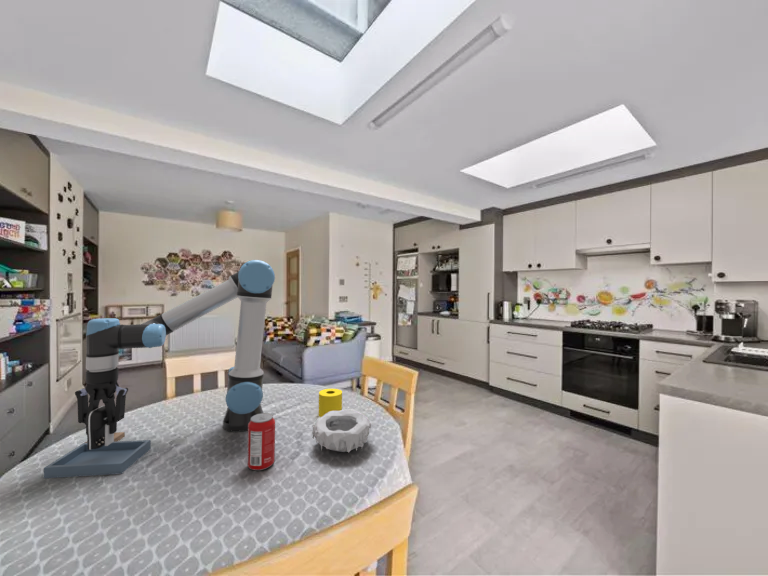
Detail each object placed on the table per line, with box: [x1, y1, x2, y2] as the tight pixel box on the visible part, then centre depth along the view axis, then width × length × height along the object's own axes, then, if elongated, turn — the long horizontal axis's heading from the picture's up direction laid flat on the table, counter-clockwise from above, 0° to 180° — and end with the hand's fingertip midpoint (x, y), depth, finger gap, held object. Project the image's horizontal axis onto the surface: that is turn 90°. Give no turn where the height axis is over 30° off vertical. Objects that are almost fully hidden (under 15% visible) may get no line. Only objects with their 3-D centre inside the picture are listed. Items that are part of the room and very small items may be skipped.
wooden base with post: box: [84, 431, 126, 443], centre depth 109 cm, size 8×8×9 cm
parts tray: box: [43, 439, 152, 479], centre depth 97 cm, size 20×14×3 cm
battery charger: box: [86, 405, 108, 450], centre depth 97 cm, size 7×4×11 cm, turn 8°
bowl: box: [311, 408, 372, 454], centre depth 109 cm, size 21×20×10 cm
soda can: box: [247, 412, 276, 471], centre depth 97 cm, size 8×8×15 cm
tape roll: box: [318, 388, 343, 417], centre depth 136 cm, size 10×10×9 cm
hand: (101, 443), depth 97 cm, fingers closed on battery charger, 4 cm apart
